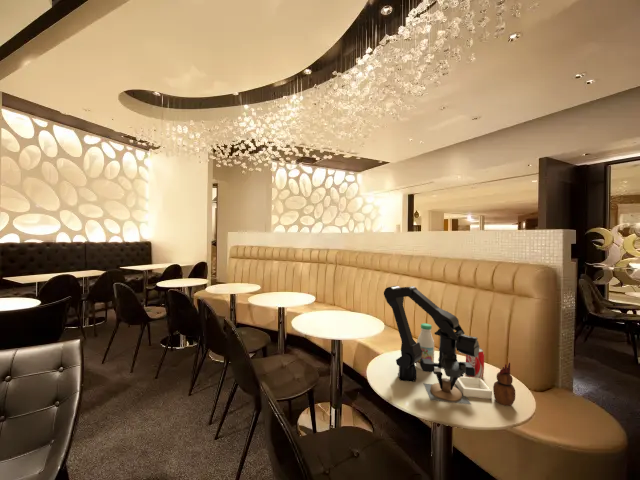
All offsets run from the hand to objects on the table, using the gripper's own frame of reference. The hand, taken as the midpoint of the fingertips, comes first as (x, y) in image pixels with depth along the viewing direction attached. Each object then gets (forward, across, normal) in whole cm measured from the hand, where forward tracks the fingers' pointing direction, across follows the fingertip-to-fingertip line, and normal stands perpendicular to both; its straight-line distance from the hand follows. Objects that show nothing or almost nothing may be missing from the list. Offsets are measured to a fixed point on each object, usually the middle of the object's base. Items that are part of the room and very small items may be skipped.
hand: (445, 388), depth 111 cm
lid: (+2, 0, 0) cm, 2 cm away
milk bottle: (+2, -3, +22) cm, 22 cm away
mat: (+2, 0, 0) cm, 2 cm away
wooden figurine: (+2, +20, -2) cm, 20 cm away
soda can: (+2, +17, +18) cm, 25 cm away
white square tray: (+2, +11, +4) cm, 12 cm away
